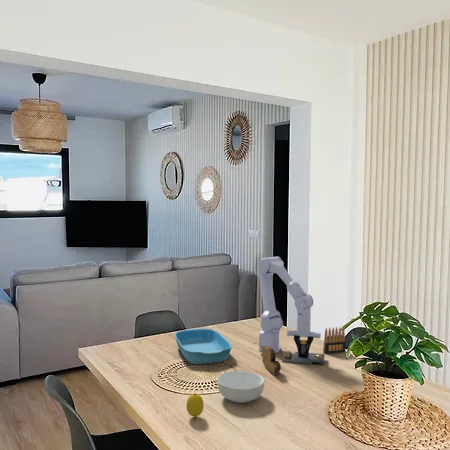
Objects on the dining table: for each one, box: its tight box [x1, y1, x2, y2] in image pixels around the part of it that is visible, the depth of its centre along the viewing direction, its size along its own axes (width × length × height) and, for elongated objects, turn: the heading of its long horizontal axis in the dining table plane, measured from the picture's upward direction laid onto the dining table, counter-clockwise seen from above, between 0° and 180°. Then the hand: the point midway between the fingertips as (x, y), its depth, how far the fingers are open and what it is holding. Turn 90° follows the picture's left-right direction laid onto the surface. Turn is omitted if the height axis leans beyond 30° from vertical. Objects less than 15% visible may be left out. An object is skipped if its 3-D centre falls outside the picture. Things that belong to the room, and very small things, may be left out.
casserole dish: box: [174, 327, 233, 365], centre depth 208 cm, size 37×22×7 cm, turn 18°
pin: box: [300, 339, 307, 357], centre depth 199 cm, size 3×3×8 cm
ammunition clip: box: [322, 326, 347, 355], centre depth 210 cm, size 11×2×12 cm, turn 105°
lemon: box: [185, 392, 204, 419], centre depth 146 cm, size 6×6×8 cm
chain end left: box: [281, 350, 313, 365], centre depth 200 cm, size 13×8×3 cm, turn 75°
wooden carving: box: [260, 346, 282, 376], centre depth 187 cm, size 16×5×10 cm, turn 21°
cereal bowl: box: [216, 370, 265, 404], centre depth 160 cm, size 17×17×7 cm
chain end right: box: [293, 351, 326, 365], centre depth 198 cm, size 13×8×3 cm, turn 75°
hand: (303, 353), depth 199 cm, fingers closed on pin, 3 cm apart
